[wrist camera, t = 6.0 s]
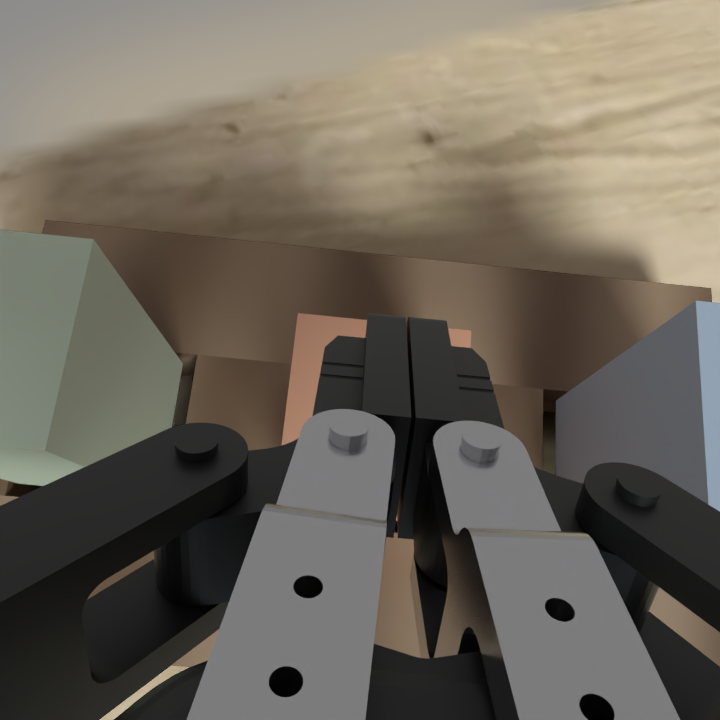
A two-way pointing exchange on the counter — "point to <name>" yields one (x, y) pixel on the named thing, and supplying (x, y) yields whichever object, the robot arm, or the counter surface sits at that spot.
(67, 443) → the sage block
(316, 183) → the counter surface
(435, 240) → the counter surface
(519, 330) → the walnut board
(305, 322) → the terracotta block
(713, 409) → the slate block
